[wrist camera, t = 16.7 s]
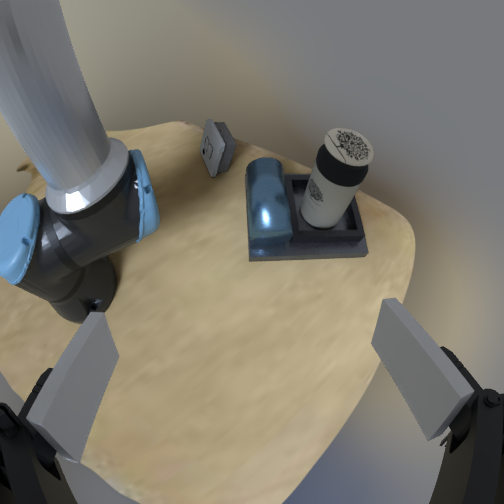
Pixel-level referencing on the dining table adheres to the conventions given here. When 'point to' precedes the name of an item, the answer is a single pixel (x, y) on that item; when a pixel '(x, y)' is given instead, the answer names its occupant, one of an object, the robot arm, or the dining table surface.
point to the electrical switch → (217, 147)
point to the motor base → (293, 219)
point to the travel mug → (335, 177)
